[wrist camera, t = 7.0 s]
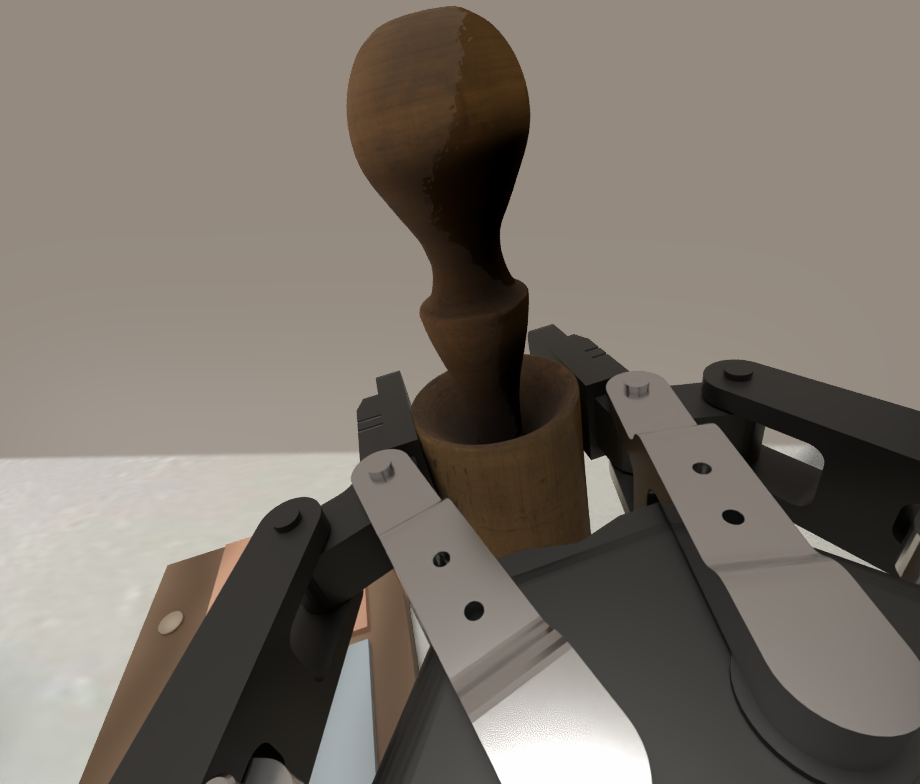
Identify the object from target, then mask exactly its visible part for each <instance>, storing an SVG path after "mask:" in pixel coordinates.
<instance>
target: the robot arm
mask: <svg viewBox="0 0 920 784" xmlns="http://www.w3.org/2000/svg"><path fill="white" fill-rule="evenodd" d="M528 343H529V350H530V355H536V356H542V357H546V358H550V359H552V360H555V361H557V362H560V363H562V364H563V365H565V366H566V367H567V368H568V369H569V370H570V371H571V372H572V373H573V374H574V375H575V377H576V379H577V381H578V385H579V391H580V405H581V420H582V434H583V450H584V451H585V453H586V454H587V455H588V456H589V458H590V459H591V460H593V459H596V458H599V457H602V456H604V455H606V456H607V457H608V459H609V470H610V475H611V478H612V480H613V483H614V486H615V488H616V491H617V493H618V496H619V499H620V501H621V504H622V507H623V509H624V512H625V514H623V515H620V516H618V517H617V518H615V519H614V520H612V521H611V522H609V523H608V524H606V525H605V526H603V527H602V528H600V529H599V530H597V531H596V532H594V533H593V534H591V535H590V536H588V537H587V538H585V539H584V540H582V541H580V542H578V543H575V544H568V545H559V546H551V547H542V548H534V549H525V550H521V551H518V552H516V553H513V554H510V555H507V556H504V557H501V558H498V559H496V558H495V557H494V556H493V554H492V553H491V552H490V550H489V549H488V548H487V547H486V545H485V544H484V543H483V541H482V540H481V539H480V537H479V536H478V535H477V534H476V532H475V531H474V530H473V528H472V527H471V526H470V525H469V523H468V522H467V521H466V519H465V518H464V517H463V516H462V514H461V513H460V512H459V510H458V509H457V508H456V506H455V505H454V504H453V503H452V501H451V500H450V499H448V498H444V499H443V500H441V499H440V498H439V496H438V495H437V492H436V489H435V486H434V483H433V480H432V477H431V475H430V472H429V469H428V466H427V463H426V460H425V457H424V454H423V451H422V448H421V445H420V442H419V439H418V436H417V433H416V430H415V427H414V423H413V419H412V415H411V411H410V410H411V403H410V400H409V397H408V393H407V390H406V387H405V384H404V381H403V379H402V376H401V373H400V371H397V372H394V373H390V374H387V375H384V376H380V377H377V378H376V382H377V389H378V395H375V396H372V397H369V398H366V399H363V400H362V402H361V404H360V406H359V408H358V409H357V422H358V432H359V433H358V438H359V453H360V463H359V464H358V465H357V466H356V467H355V469H354V470H353V472H352V476H351V482H352V485H351V486H350V487H349V488H348V489H347V490H345V491H344V492H343V493H341V494H340V495H338V496H337V497H335V498H333V499H331V500H330V501H328V502H326V503H325V504H323V505H321V506H320V504H319V503H318V502H317V501H316V500H315V499H313V498H309V497H299V498H294V499H291V500H288V501H286V502H284V503H282V504H280V505H278V506H277V507H275V508H274V509H273V510H271V511H270V512H269V513H268V514H267V515H266V516H265V517H264V518H263V519H262V521H261V522H260V524H259V525H258V527H257V529H256V530H255V532H254V534H253V536H252V537H251V539H250V541H249V542H248V544H247V546H246V548H245V549H244V551H243V553H242V554H241V556H240V558H239V560H238V561H237V563H236V565H235V567H234V568H233V570H232V572H231V573H230V575H229V577H228V579H227V580H226V582H225V584H224V585H223V587H222V589H221V591H220V592H219V594H218V596H217V597H216V599H215V601H214V603H213V604H212V606H211V608H210V610H209V611H208V613H207V615H206V616H205V618H204V620H203V622H202V623H201V625H200V627H199V628H198V630H197V632H196V634H195V635H194V637H193V639H192V640H191V642H190V644H189V646H188V647H187V649H186V651H185V653H184V654H183V656H182V658H181V659H180V661H179V663H178V665H177V666H176V668H175V670H174V671H173V673H172V675H171V677H170V678H169V680H168V682H167V683H166V685H165V687H164V689H163V690H162V692H161V694H160V695H159V697H158V699H157V701H156V702H155V704H154V706H153V708H152V709H151V711H150V713H149V714H148V716H147V718H146V720H145V721H144V723H143V725H142V726H141V728H140V730H139V732H138V733H137V735H136V737H135V738H134V740H133V742H132V744H131V745H130V747H129V749H128V751H127V752H126V754H125V756H124V757H123V759H122V761H121V763H120V764H119V766H118V768H117V769H116V771H115V773H114V775H113V776H112V778H111V780H110V781H109V783H108V784H309V782H310V778H311V775H312V771H313V768H314V765H315V761H316V758H317V754H318V751H319V747H320V744H321V740H322V737H323V733H324V730H325V726H326V723H327V720H328V716H329V713H330V709H331V706H332V702H333V699H334V695H335V692H336V688H337V685H338V681H339V678H340V675H341V671H342V668H343V664H344V661H345V657H346V654H347V650H348V647H349V643H350V640H351V636H352V633H353V630H354V626H355V623H356V619H357V616H358V612H359V609H360V605H361V602H362V598H363V594H364V589H365V588H366V587H368V586H369V585H371V584H372V583H373V582H375V581H376V580H378V579H379V578H381V577H382V576H384V575H385V574H387V573H388V572H390V571H391V570H392V569H393V571H394V573H395V575H396V577H397V579H398V581H399V583H400V585H401V587H402V589H403V591H404V593H405V595H406V597H407V600H408V602H409V604H410V606H411V608H412V610H413V612H414V614H415V616H416V618H417V620H418V622H419V624H420V626H421V628H422V630H423V632H424V634H425V637H426V639H427V641H428V643H429V645H430V647H429V650H428V652H427V654H426V657H425V659H424V662H423V664H422V666H421V669H420V671H419V673H418V676H417V678H416V680H415V683H414V685H413V688H412V690H411V692H410V695H409V697H408V699H407V702H406V704H405V706H404V709H403V711H402V713H401V716H400V718H399V721H398V723H397V725H396V728H395V730H394V732H393V735H392V737H391V739H390V742H389V744H388V747H387V749H386V751H385V754H384V756H383V758H382V761H381V763H380V765H379V768H378V770H377V772H376V775H375V777H374V780H373V782H372V784H920V411H917V410H914V409H911V408H907V407H904V406H900V405H897V404H894V403H890V402H887V401H884V400H880V399H877V398H873V397H870V396H867V395H863V394H860V393H856V392H853V391H850V390H846V389H843V388H840V387H836V386H833V385H829V384H826V383H823V382H819V381H816V380H813V379H809V378H806V377H802V376H799V375H796V374H792V373H789V372H786V371H782V370H779V369H775V368H772V367H769V366H765V365H762V364H758V363H755V362H751V361H745V360H723V361H719V362H715V363H713V364H711V365H709V366H708V367H706V368H705V370H704V372H703V380H702V383H693V384H684V385H674V386H669V384H668V383H667V382H666V381H665V379H664V378H662V377H661V376H659V375H656V374H654V373H650V372H644V371H631V372H630V371H628V370H627V369H626V368H624V367H623V366H622V365H621V364H620V363H618V362H617V361H616V360H614V359H613V358H612V357H611V356H609V355H608V354H607V355H606V352H604V351H603V350H602V349H601V348H598V346H597V345H595V344H594V343H593V342H592V341H590V340H589V339H587V338H584V337H581V336H578V335H575V334H573V335H570V336H567V335H565V334H564V333H563V332H562V331H561V330H560V329H558V328H557V327H556V326H555V325H553V324H551V325H548V326H545V327H541V328H538V329H535V330H532V331H529V332H528ZM765 426H766V427H768V428H771V429H774V430H776V431H779V432H781V433H784V434H786V435H789V436H791V437H794V438H796V439H799V440H801V441H804V442H806V443H809V444H811V445H812V446H814V447H815V448H817V449H818V450H819V451H820V453H821V454H822V456H823V458H824V462H825V463H824V468H823V471H822V470H820V469H818V468H815V467H813V466H811V465H808V464H806V463H804V462H801V461H799V460H797V459H794V458H792V457H790V456H787V455H785V454H783V453H780V452H778V451H776V450H773V449H771V448H769V447H766V446H764V445H762V439H763V434H764V430H765ZM794 524H796V525H798V526H800V527H802V528H804V529H806V530H808V531H809V532H811V533H813V534H815V535H817V536H819V537H821V538H823V539H824V540H826V541H828V542H830V543H832V544H834V545H836V546H838V547H840V548H841V549H843V550H845V551H847V552H849V553H851V554H853V555H855V556H856V557H858V558H860V559H862V560H864V561H866V562H868V563H870V564H872V565H873V566H875V567H877V568H879V569H881V570H883V571H885V572H887V573H885V572H882V571H879V570H876V569H873V568H871V567H868V566H865V565H862V564H859V563H856V562H853V561H851V560H848V559H845V558H842V557H839V556H836V555H833V554H831V553H828V552H825V551H822V550H819V549H816V548H813V547H812V546H811V545H810V544H809V543H808V541H807V540H806V539H805V538H804V536H803V535H802V534H801V532H800V531H799V530H798V529H797V527H796V526H795V525H794ZM888 573H889V574H888Z"/></svg>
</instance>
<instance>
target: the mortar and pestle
mask: <svg viewBox="0 0 920 784" xmlns="http://www.w3.org/2000/svg"><path fill="white" fill-rule="evenodd" d="M347 121H348V129H349V135H350V139H351V143H352V147H353V150H354V154H355V157H356V159H357V161H358V163H359V166H360V168H361V169H362V171H363V173H364V175H365V176H366V178H367V179H368V181H369V182H370V184H371V185H372V186H373V188H374V189H375V190H376V191H377V192H378V193H379V195H380V196H381V197H382V198H383V199H384V201H385V202H386V203H387V204H388V205H389V207H390V208H391V209H392V210H393V211H394V213H395V214H396V215H397V216H398V217H399V218H400V220H401V221H402V222H403V223H404V224H405V225H406V226H407V227H408V228H409V230H410V231H411V232H412V233H413V234H414V236H415V237H416V238H417V239H418V240H419V242H420V243H421V245H422V246H423V248H424V250H425V252H426V255H427V257H428V259H429V261H430V263H431V265H432V271H433V287H432V294H431V296H430V297H428V298H427V299H426V300H425V301H424V302H423V304H422V305H421V307H420V318H421V320H422V322H423V325H424V327H425V330H426V332H427V334H428V336H429V338H430V340H431V342H432V344H433V346H434V347H435V349H436V351H437V353H438V354H439V356H440V358H441V360H442V361H443V363H444V365H445V367H446V368H447V370H448V371H446V372H445V373H443V374H441V375H439V376H438V377H436V378H435V379H433V380H432V381H431V382H430V383H428V384H427V385H426V386H425V387H424V388H423V389H422V390H421V391H420V392H419V394H418V395H417V396H416V398H415V400H414V401H413V403H412V406H411V410H410V411H411V415H412V419H413V423H414V427H415V430H416V433H417V436H418V439H419V442H420V445H421V448H422V451H423V454H424V457H425V460H426V463H427V466H428V469H429V472H430V475H431V477H432V480H433V483H434V486H435V489H436V492H437V495H438V496H439V498H440V499H441V500H443V499H444V498H448V499H450V500H451V501H452V503H453V504H454V505H455V506H456V508H457V509H458V510H459V512H460V513H461V514H462V516H463V517H464V518H465V519H466V521H467V522H468V523H469V525H470V526H471V527H472V528H473V530H474V531H475V532H476V534H477V535H478V536H479V537H480V539H481V540H482V541H483V543H484V544H485V545H486V547H487V548H488V549H489V550H490V552H491V553H492V554H493V556H494V557H495V558H496V559H498V558H501V557H504V556H507V555H510V554H513V553H516V552H518V551H521V550H525V549H534V548H542V547H551V546H559V545H568V544H575V543H578V542H580V541H582V540H584V539H585V538H587V537H588V536H590V535H591V530H590V519H589V509H588V497H587V487H586V475H585V464H584V450H583V434H582V420H581V405H580V391H579V385H578V381H577V379H576V377H575V375H574V374H573V373H572V372H571V371H570V370H569V369H568V368H567V367H566V366H565V365H563V364H562V363H560V362H557V361H555V360H552V359H550V358H546V357H542V356H536V355H527V354H524V349H525V341H526V333H527V325H528V309H529V306H528V305H529V293H528V288H527V286H526V285H525V284H524V283H523V282H521V281H519V280H516V279H514V278H513V277H512V276H511V274H510V272H509V271H508V269H507V266H506V264H505V261H504V258H503V255H502V251H501V246H500V227H501V222H502V219H503V216H504V214H505V211H506V209H507V206H508V203H509V200H510V197H511V194H512V191H513V188H514V184H515V182H516V178H517V175H518V172H519V169H520V166H521V162H522V159H523V156H524V153H525V148H526V145H527V140H528V134H529V126H530V105H529V97H528V91H527V86H526V82H525V79H524V76H523V72H522V70H521V67H520V65H519V62H518V60H517V58H516V56H515V54H514V52H513V50H512V49H511V47H510V45H509V44H508V42H507V41H506V39H505V38H504V37H503V36H502V34H501V33H500V32H499V31H498V30H497V29H496V28H495V27H494V26H493V25H492V24H491V23H490V22H489V21H487V20H486V19H484V18H482V17H481V16H479V15H477V14H475V13H473V12H471V11H469V10H466V9H464V8H462V7H456V6H447V7H440V8H434V9H427V10H423V11H419V12H415V13H411V14H408V15H405V16H402V17H399V18H396V19H393V20H391V21H389V22H387V23H385V24H383V25H381V26H380V27H378V28H377V29H376V30H375V31H374V32H373V33H372V34H371V35H370V37H369V38H368V39H367V40H366V41H365V42H364V44H363V45H362V47H361V48H360V50H359V52H358V54H357V56H356V58H355V61H354V64H353V67H352V71H351V75H350V79H349V84H348V92H347Z"/></svg>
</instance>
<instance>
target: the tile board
mask: <svg viewBox="0 0 920 784" xmlns="http://www.w3.org/2000/svg"><path fill="white" fill-rule="evenodd" d="M250 539H251V537H249V538H246V539H243V540H240V541H237V542H233V543H230V544H227V545H226V546H225V547H223V548H220V549H217V550H214V551H211V552H208V553H205V554H201V555H198V556H195V557H192V558H189V559H186V560H183V561H180V562H176V563H173V564H170V565H168V566H167V568H166V571H165V573H164V576H163V578H162V581H161V583H160V585H159V588H158V590H157V593H156V595H155V598H154V600H153V603H152V605H151V608H150V610H149V613H148V615H147V617H146V620H145V622H144V625H143V627H142V630H141V632H140V635H139V637H138V640H137V642H136V644H135V647H134V649H133V652H132V654H131V657H130V659H129V662H128V664H127V667H126V669H125V672H124V674H123V676H122V679H121V681H120V684H119V686H118V689H117V691H116V694H115V696H114V699H113V701H112V704H111V706H110V708H109V711H108V713H107V716H106V718H105V721H104V723H103V726H102V728H101V731H100V733H99V736H98V738H97V740H96V743H95V745H94V748H93V750H92V753H91V755H90V758H89V760H88V763H87V765H86V767H85V770H84V772H83V775H82V777H81V780H80V782H79V784H108V783H109V781H110V780H111V778H112V776H113V775H114V773H115V771H116V769H117V768H118V766H119V764H120V763H121V761H122V759H123V757H124V756H125V754H126V752H127V751H128V749H129V747H130V745H131V744H132V742H133V740H134V738H135V737H136V735H137V733H138V732H139V730H140V728H141V726H142V725H143V723H144V721H145V720H146V718H147V716H148V714H149V713H150V711H151V709H152V708H153V706H154V704H155V702H156V701H157V699H158V697H159V695H160V694H161V692H162V690H163V689H164V687H165V685H166V683H167V682H168V680H169V678H170V677H171V675H172V673H173V671H174V670H175V668H176V666H177V665H178V663H179V661H180V659H181V658H182V656H183V654H184V653H185V651H186V649H187V647H188V646H189V644H190V642H191V640H192V639H193V637H194V635H195V634H196V632H197V630H198V628H199V627H200V625H201V623H202V622H203V620H204V618H205V616H206V615H207V613H208V611H209V610H210V608H211V606H212V604H213V603H214V601H215V599H216V597H217V596H218V594H219V592H220V591H221V589H222V587H223V585H224V584H225V582H226V580H227V579H228V577H229V575H230V573H231V572H232V570H233V568H234V567H235V565H236V563H237V561H238V560H239V558H240V556H241V554H242V553H243V551H244V549H245V548H246V546H247V544H248V542H249V541H250ZM418 673H419V668H418V661H417V654H416V648H415V641H414V634H413V628H412V621H411V614H410V607H409V602H408V600H407V597H406V595H405V593H404V591H403V589H402V587H401V585H400V583H399V581H398V579H397V577H396V575H395V573H394V571H393V569H392V570H391V571H390V572H388V573H387V574H385V575H384V576H382V577H381V578H379V579H378V580H376V581H375V582H373V583H372V584H371V585H369V586H368V587H366V588H365V589H364V594H363V598H362V602H361V605H360V609H359V612H358V616H357V619H356V623H355V626H354V630H353V633H352V636H351V640H350V643H349V647H348V650H347V654H346V657H345V661H344V664H343V668H342V671H341V675H340V678H339V681H338V685H337V688H336V692H335V695H334V699H333V702H332V706H331V709H330V713H329V716H328V720H327V723H326V726H325V730H324V733H323V737H322V740H321V744H320V747H319V751H318V754H317V758H316V761H315V765H314V768H313V771H312V775H311V778H310V782H309V784H372V782H373V780H374V777H375V775H376V772H377V770H378V768H379V765H380V763H381V761H382V758H383V756H384V754H385V751H386V749H387V747H388V744H389V742H390V739H391V737H392V735H393V732H394V730H395V728H396V725H397V723H398V721H399V718H400V716H401V713H402V711H403V709H404V706H405V704H406V702H407V699H408V697H409V695H410V692H411V690H412V688H413V685H414V683H415V680H416V678H417V676H418Z"/></svg>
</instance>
